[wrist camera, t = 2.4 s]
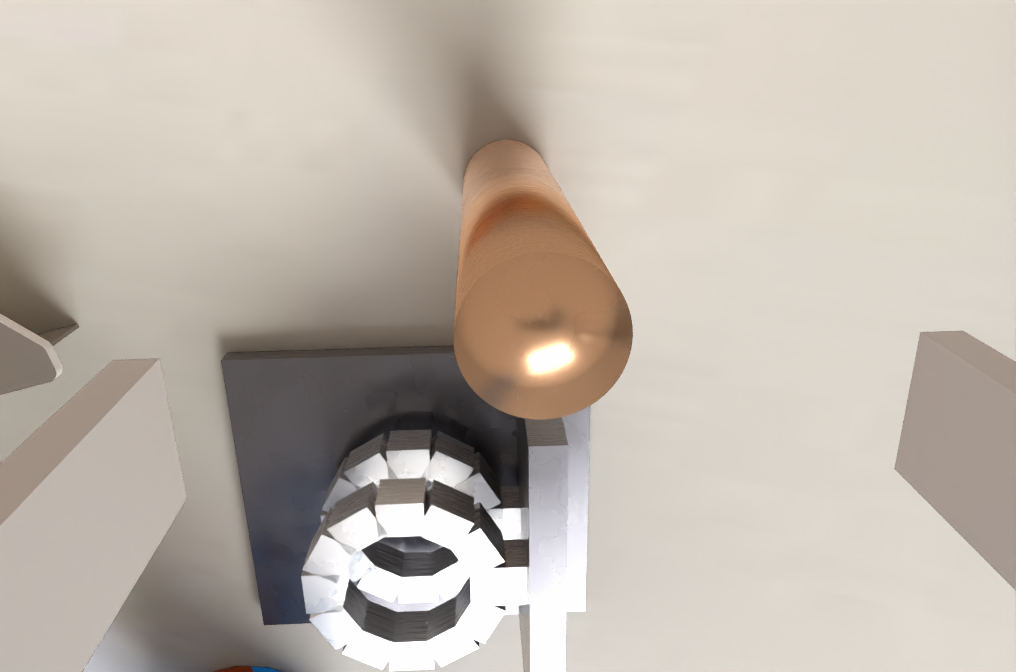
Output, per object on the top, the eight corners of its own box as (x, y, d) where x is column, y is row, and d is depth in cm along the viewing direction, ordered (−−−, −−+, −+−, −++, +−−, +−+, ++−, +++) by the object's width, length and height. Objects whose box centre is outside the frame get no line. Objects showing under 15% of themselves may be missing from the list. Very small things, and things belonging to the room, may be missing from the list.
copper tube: (549, 138, 35) (636, 249, 17) (549, 225, 37) (629, 416, 18) (462, 140, 35) (449, 254, 16) (465, 227, 36) (456, 422, 18)
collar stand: (588, 341, 39) (627, 443, 29) (582, 599, 45) (614, 756, 35) (227, 352, 38) (142, 460, 28) (268, 612, 44) (209, 776, 34)
